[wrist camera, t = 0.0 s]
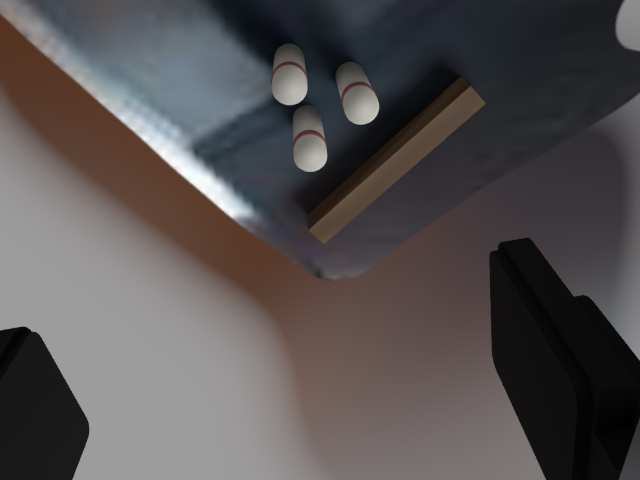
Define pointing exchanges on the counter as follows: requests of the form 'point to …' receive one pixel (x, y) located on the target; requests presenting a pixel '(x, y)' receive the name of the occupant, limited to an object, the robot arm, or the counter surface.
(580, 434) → the robot arm
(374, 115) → the pin
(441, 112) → the back rail
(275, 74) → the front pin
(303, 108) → the pin
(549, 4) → the counter surface
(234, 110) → the counter surface
